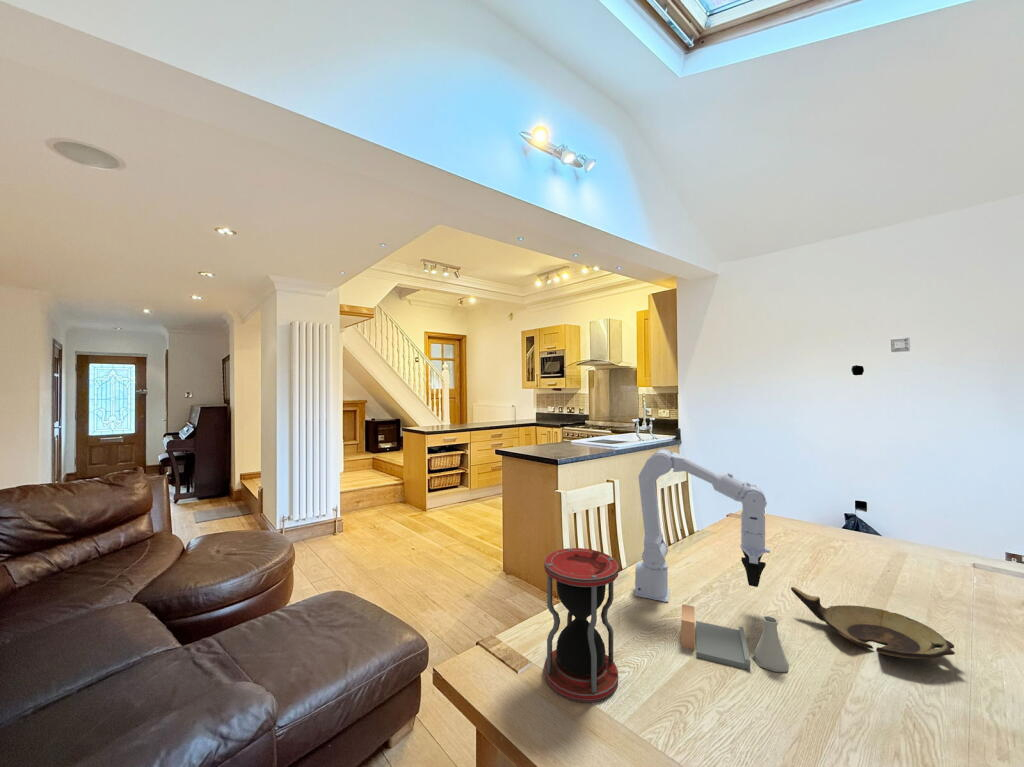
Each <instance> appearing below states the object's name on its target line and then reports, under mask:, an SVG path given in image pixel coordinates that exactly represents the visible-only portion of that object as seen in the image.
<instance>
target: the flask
mask: <svg viewBox="0 0 1024 767" xmlns="http://www.w3.org/2000/svg"><path fill="white" fill-rule="evenodd" d="M762 621H763V629H762V633H761V636H760V638H759V640H758V643H757V645H756V647H755V649H754V651H753V656H752V659H753V660H754V661H755V663H756V664H757V665H758V667H761V668H763V669H767V670H769V671H772V672H775V673H777V672H781V673H785V672H786V673H787V672H788V671H789V666H790V665H789V663H788V659H787V657H786V654H785V652H784V649H783V646H782V643H781V640H780V637H779V632H778V625H779V620H778V619H777V618H776V617H775V616H771V615H763V616H762Z"/></svg>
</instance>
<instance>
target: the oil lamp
mask: <svg viewBox="0 0 1024 767" xmlns="http://www.w3.org/2000/svg"><path fill="white" fill-rule="evenodd" d="M790 590H791V591H792V593H793V594H794V595H795V596H796V597H797V598H798V599H799V600H800V601H801V602H802V604H804V605H805V606H806V608H808V609H809V611H810V612H812V614H813V615H814V616H815V617H816V618H817V619H819V620H820V621H822V622H825V624H826V625H827V627H829V628H830V629H831V630H833V631H834V632H835V633H837V634H838V635H840V636H841V637H843V638H845V639H846V640H847V641H848V640H849V641H850V642H852V643H854V644H856V645H859V646H861V647H863V648H867V649H874V647H873V646H872V645H871V644H869V643H867V642H870V641H871V642H875V643H880V644H884V645H883V646H882V647H876V650H875V651H876V653H878V654H880V655H881V654H882V655H886V656H890V657H895V658H896V657H897V658H902V659H915V660H918V659H919V660H920V659H935V658H936V659H937V658H941V657H944V656H954V655H955V654H956V652H955V651H954V650H952V649H954V648H955V645H954V644H953V643H952V642H951V641H949V640H947V639H945V638H944V636H942V635H941V634H940V633H938V632H937V630H935V629H933V628H931V627H929V626H928V625H925V624H924V623H922V622H919V621H918V620H915V619H913V618H910V617H908V616H906V615H902V614H900V613H897V612H891V611H888V610H886V609H885V610H884V609H882V608H881V609H880V608H875V607H871V606H870V607H868V606H862V605H851V604H850V605H844V604H843V605H832V606H829V607H824V606H823V605H822V604H821V597H819V596H813V595H809V594H807V593H805V592H803V591H802V590H800V589H798V588H797V587H794V586H791V588H790Z"/></svg>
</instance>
